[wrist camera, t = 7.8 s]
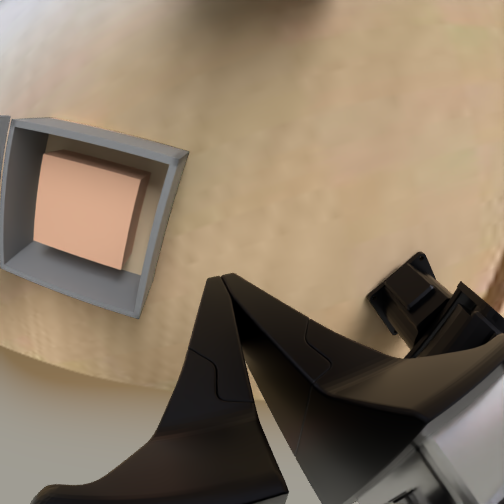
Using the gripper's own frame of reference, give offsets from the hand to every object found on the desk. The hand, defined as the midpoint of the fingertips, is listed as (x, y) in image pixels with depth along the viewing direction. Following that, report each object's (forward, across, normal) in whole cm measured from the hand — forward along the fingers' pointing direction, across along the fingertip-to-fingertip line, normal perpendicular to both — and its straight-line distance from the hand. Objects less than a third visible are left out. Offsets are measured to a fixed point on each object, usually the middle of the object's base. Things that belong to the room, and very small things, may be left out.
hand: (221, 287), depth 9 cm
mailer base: (+13, +6, 0) cm, 15 cm away
